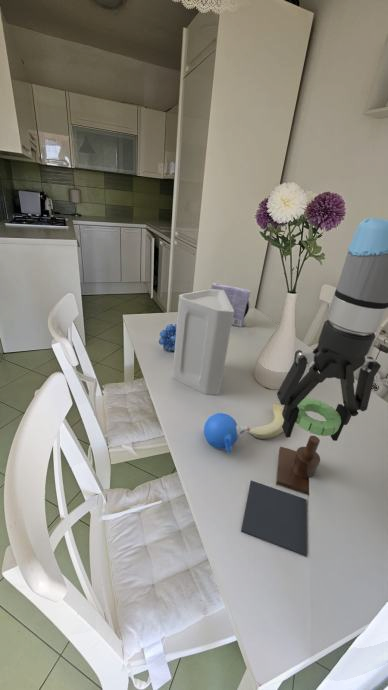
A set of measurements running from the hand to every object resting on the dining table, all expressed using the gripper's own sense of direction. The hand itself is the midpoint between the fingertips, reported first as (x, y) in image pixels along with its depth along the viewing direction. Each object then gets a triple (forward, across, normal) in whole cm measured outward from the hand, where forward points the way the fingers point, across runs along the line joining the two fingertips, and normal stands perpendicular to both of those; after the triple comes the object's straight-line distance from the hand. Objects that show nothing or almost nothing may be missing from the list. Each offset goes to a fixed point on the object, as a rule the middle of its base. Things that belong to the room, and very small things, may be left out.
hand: (309, 433), depth 58 cm
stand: (+18, -5, -6) cm, 19 cm away
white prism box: (+18, +19, -43) cm, 50 cm away
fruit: (+18, -1, -22) cm, 28 cm away
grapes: (+18, +27, -61) cm, 69 cm away
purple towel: (+18, +3, -93) cm, 95 cm away
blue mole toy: (+18, +12, -14) cm, 26 cm away
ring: (-3, 0, 0) cm, 3 cm away
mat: (+18, +4, +5) cm, 19 cm away
